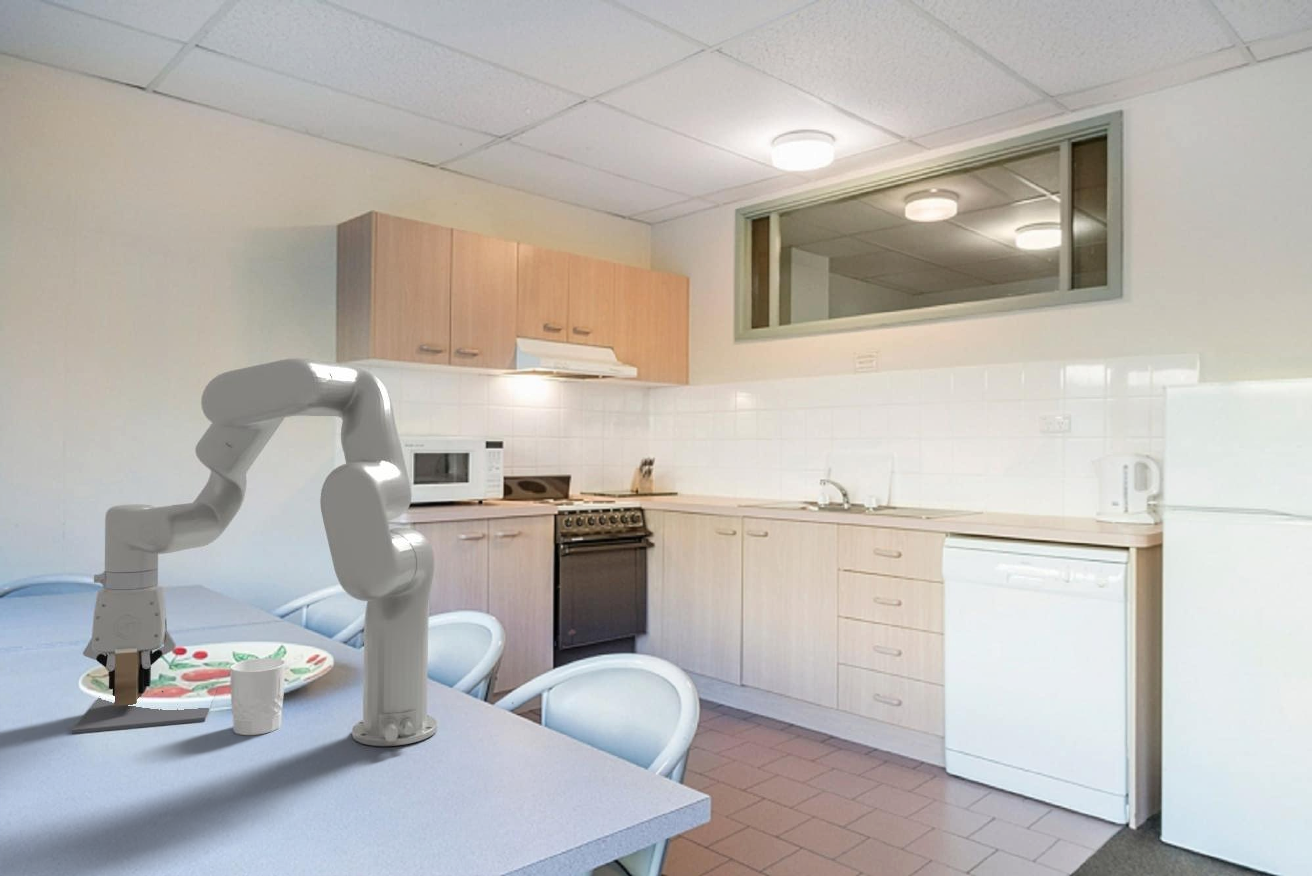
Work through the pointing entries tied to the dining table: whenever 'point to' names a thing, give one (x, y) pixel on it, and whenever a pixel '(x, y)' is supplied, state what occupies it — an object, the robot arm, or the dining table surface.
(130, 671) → the slab
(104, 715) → the mat
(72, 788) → the dining table surface
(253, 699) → the white cup
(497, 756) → the dining table surface
